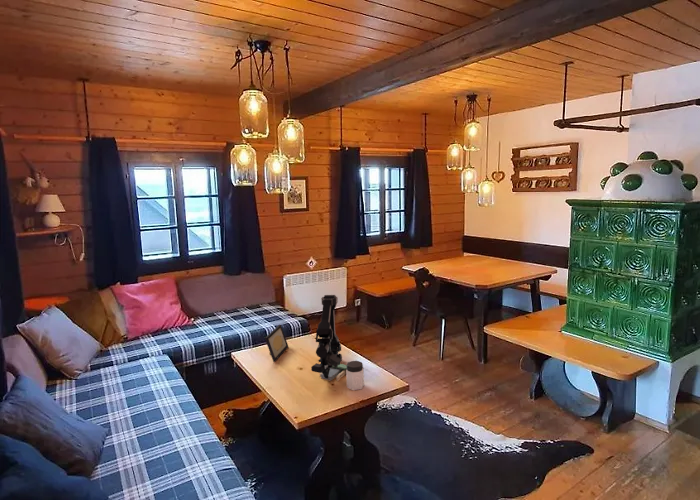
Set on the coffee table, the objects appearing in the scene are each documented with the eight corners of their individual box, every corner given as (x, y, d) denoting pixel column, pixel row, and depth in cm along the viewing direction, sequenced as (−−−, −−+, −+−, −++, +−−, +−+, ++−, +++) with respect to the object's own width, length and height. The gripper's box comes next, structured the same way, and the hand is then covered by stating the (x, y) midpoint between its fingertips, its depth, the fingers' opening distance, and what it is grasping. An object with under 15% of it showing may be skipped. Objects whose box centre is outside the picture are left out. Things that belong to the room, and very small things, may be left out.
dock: (328, 367, 244) (327, 360, 244) (353, 372, 236) (352, 365, 236) (315, 376, 234) (315, 369, 233) (341, 381, 226) (341, 375, 225)
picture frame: (275, 361, 254) (270, 337, 252) (261, 362, 256) (256, 338, 254) (288, 346, 277) (284, 324, 275) (275, 347, 278) (271, 325, 276)
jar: (348, 391, 215) (347, 368, 213) (345, 384, 223) (344, 362, 221) (366, 388, 217) (365, 366, 215) (362, 381, 225) (361, 359, 223)
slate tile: (333, 370, 241) (333, 366, 241) (342, 372, 238) (342, 367, 238) (321, 379, 231) (321, 374, 230) (331, 381, 228) (330, 376, 227)
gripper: (328, 359, 213) (330, 388, 216) (347, 346, 230) (348, 373, 232) (309, 355, 219) (311, 384, 221) (329, 342, 235) (330, 370, 237)
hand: (326, 378), depth 228 cm, fingers closed
